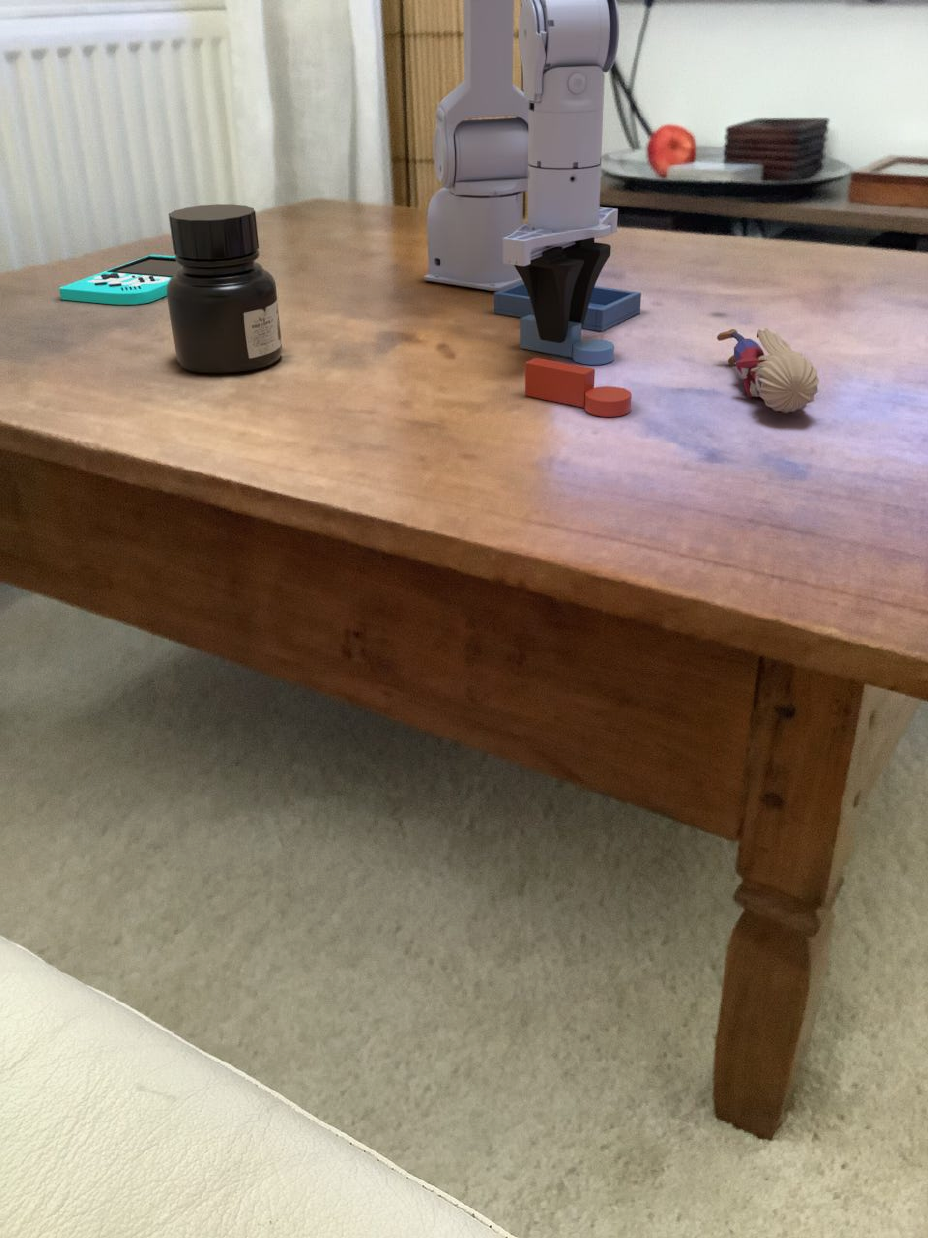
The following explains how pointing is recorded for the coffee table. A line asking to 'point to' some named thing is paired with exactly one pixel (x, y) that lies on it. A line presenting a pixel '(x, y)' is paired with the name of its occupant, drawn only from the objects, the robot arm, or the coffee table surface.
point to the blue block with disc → (566, 344)
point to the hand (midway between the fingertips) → (560, 336)
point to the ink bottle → (221, 292)
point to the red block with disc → (574, 388)
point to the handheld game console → (125, 283)
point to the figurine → (773, 371)
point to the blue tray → (601, 311)
